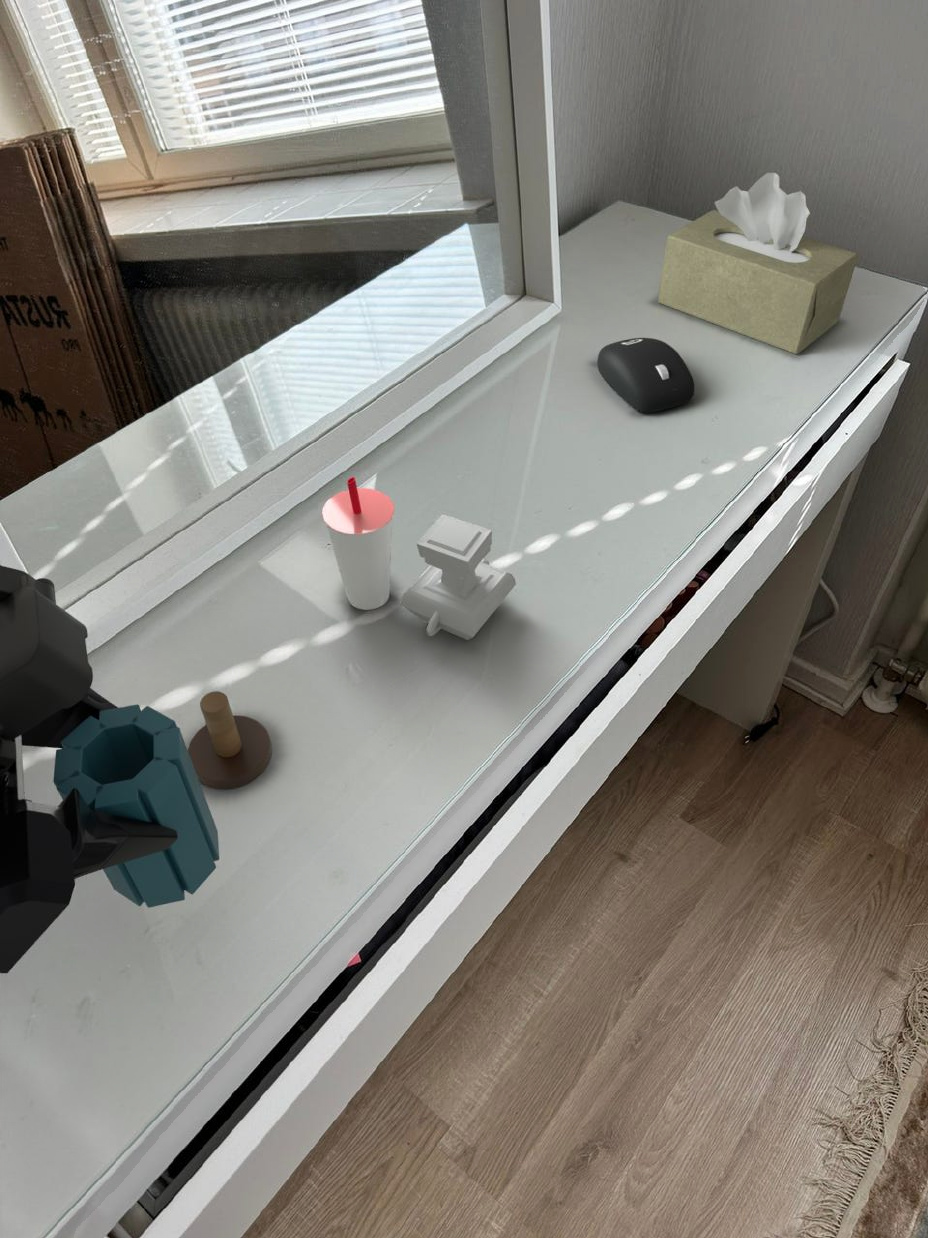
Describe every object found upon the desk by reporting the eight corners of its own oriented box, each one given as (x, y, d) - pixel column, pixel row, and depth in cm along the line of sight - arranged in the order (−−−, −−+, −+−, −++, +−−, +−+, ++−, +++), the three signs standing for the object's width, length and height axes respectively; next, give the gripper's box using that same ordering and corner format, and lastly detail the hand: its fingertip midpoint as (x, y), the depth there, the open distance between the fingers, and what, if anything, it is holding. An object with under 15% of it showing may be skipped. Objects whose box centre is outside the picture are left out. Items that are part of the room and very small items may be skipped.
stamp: (466, 669, 69) (465, 588, 63) (393, 636, 72) (385, 556, 65) (522, 596, 74) (526, 516, 68) (452, 568, 77) (450, 488, 71)
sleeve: (110, 916, 50) (49, 817, 43) (112, 823, 54) (58, 718, 47) (221, 892, 51) (181, 791, 44) (216, 802, 55) (178, 696, 48)
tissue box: (654, 302, 109) (675, 161, 97) (698, 273, 114) (723, 136, 102) (799, 356, 100) (841, 209, 88) (840, 323, 105) (885, 179, 93)
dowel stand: (207, 803, 61) (187, 750, 57) (179, 745, 65) (157, 691, 60) (285, 766, 63) (270, 712, 59) (253, 711, 67) (237, 657, 62)
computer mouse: (639, 348, 101) (644, 314, 98) (701, 402, 94) (709, 368, 91) (580, 363, 99) (583, 329, 96) (638, 420, 92) (644, 385, 89)
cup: (330, 617, 73) (310, 498, 64) (341, 571, 77) (324, 453, 68) (397, 620, 73) (386, 501, 64) (404, 574, 76) (395, 456, 68)
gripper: (-92, 779, 29) (297, 847, 40) (-76, 453, 41) (219, 572, 52) (-233, 972, 33) (157, 987, 43) (-180, 620, 45) (115, 699, 55)
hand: (164, 790), depth 48 cm, fingers closed on sleeve, 6 cm apart
